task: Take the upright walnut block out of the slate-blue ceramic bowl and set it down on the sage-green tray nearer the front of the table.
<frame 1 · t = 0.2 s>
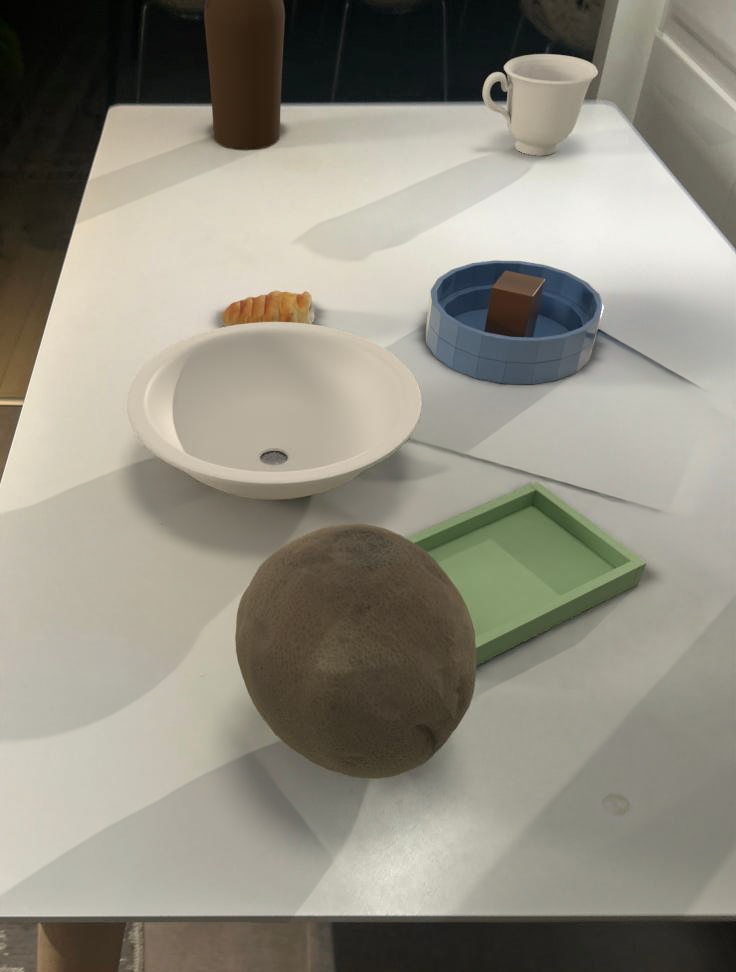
pastry: (275, 332, 98), on the table
vessel sink basin: (273, 462, 83), on the table
tray: (496, 581, 71), on the table
olive oil: (247, 139, 136), on the table
block: (507, 340, 95), resting on blue bowl
teacup: (525, 150, 132), on the table
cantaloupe: (347, 735, 62), on the table
blue bowl: (506, 345, 95), on the table
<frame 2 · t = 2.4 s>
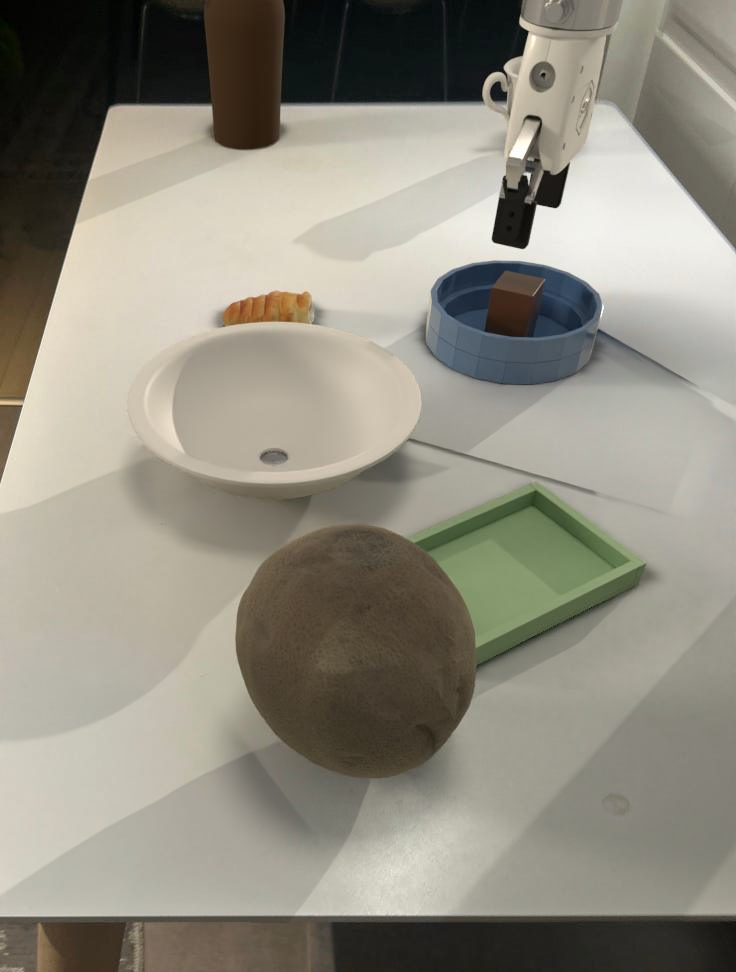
hand: (526, 224, 87), 12 cm above the table, tool pointing down, fingers open, 9 cm apart
nothing on the table moved.
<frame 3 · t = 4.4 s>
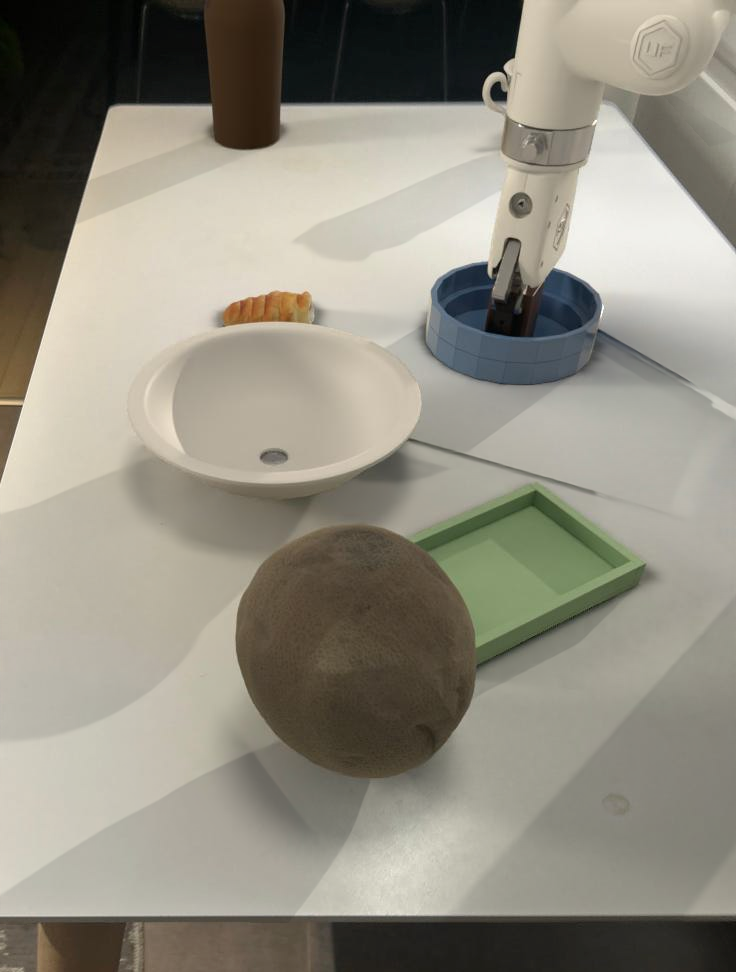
hand: (508, 334, 94), 1 cm above the table, tool pointing down, fingers closed on block, 4 cm apart
block: (507, 340, 95), point 1 cm above the table, touching blue bowl, gripper
everything else where it was.
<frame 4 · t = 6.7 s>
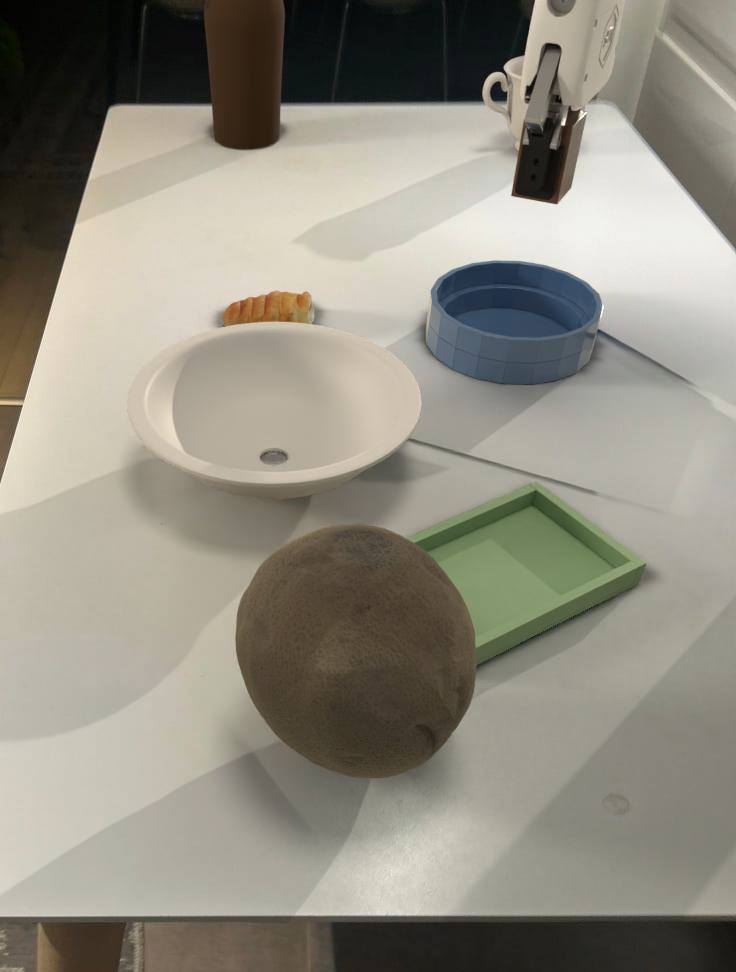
hand: (543, 183, 81), 17 cm above the table, tool pointing down, fingers closed on block, 4 cm apart
block: (541, 192, 81), point 16 cm above the table, touching gripper
everything else where it was.
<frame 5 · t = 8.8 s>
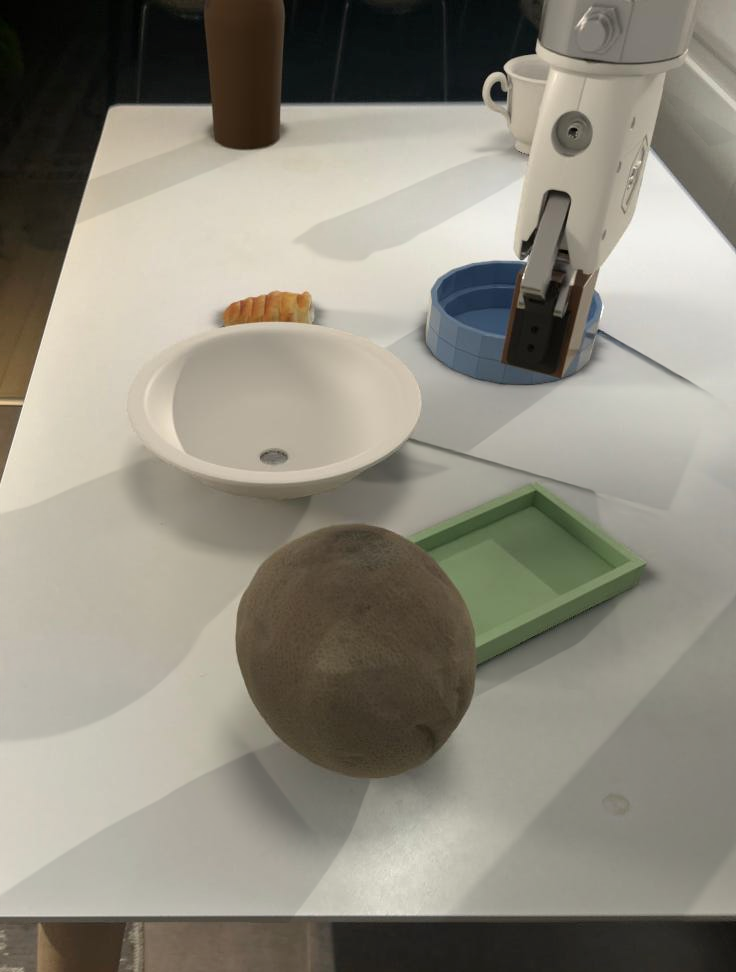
hand: (543, 347, 61), 17 cm above the table, tool pointing down, fingers closed on block, 4 cm apart
block: (539, 356, 62), point 17 cm above the table, touching gripper
everything else where it was.
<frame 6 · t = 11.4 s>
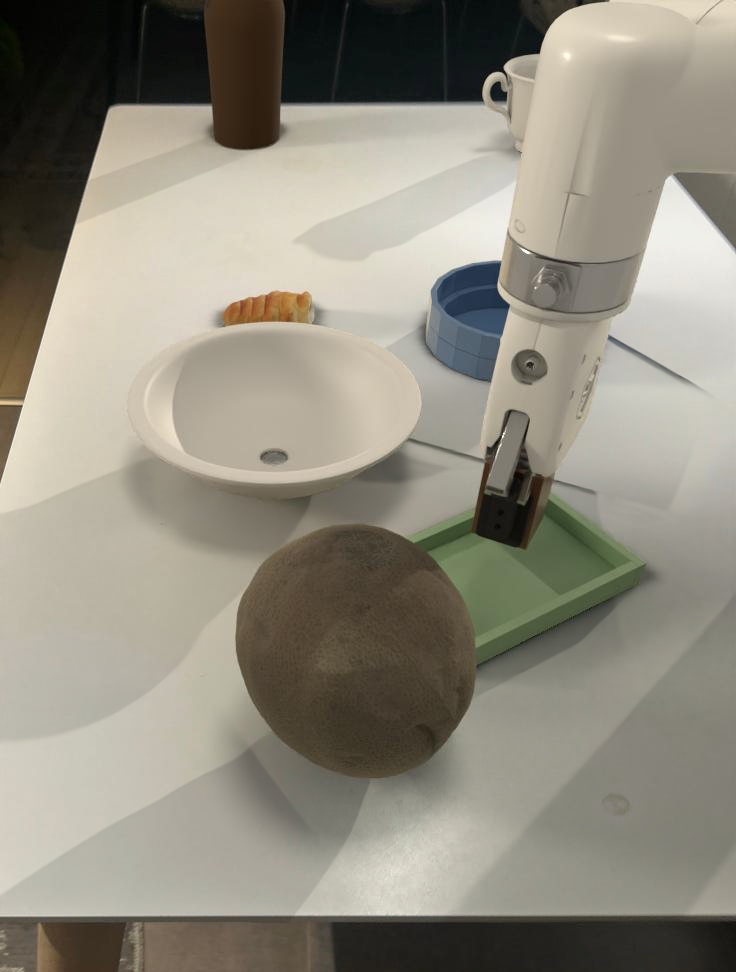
hand: (509, 517, 67), 6 cm above the table, tool pointing down, fingers closed on block, 4 cm apart
block: (507, 525, 67), point 5 cm above the table, touching gripper
everything else where it was.
when the fingers open (1 cm above the table, at t = 13.0 s): block stays where it is, resting on tray.
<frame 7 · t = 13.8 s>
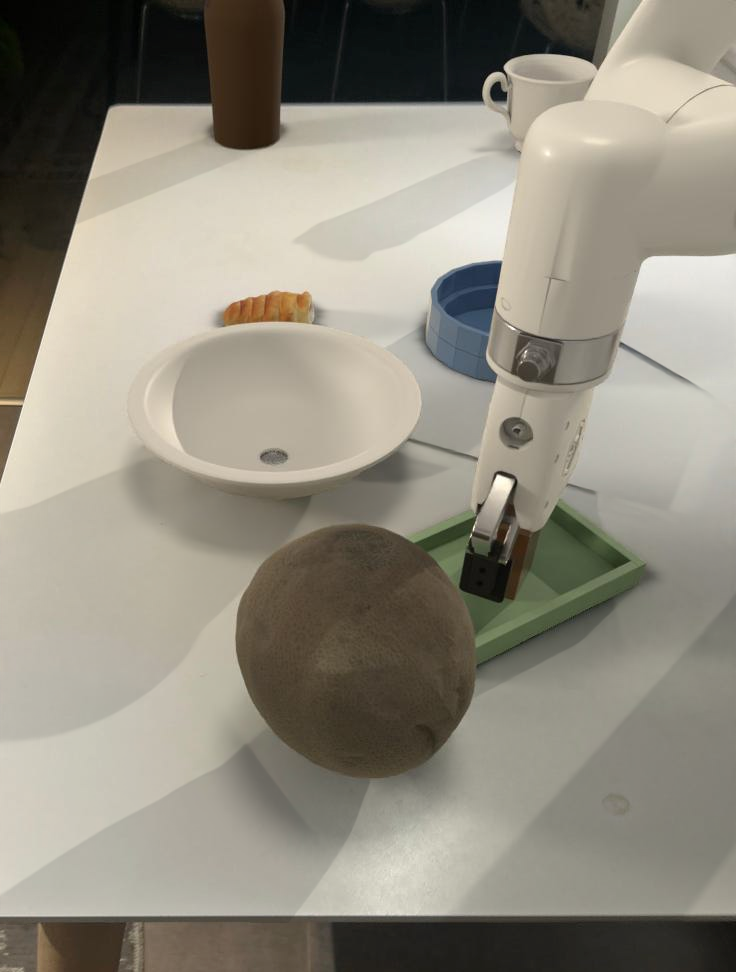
hand: (504, 553, 69), 3 cm above the table, tool pointing down, fingers open, 9 cm apart
block: (496, 575, 71), point 1 cm above the table, touching tray
everything else where it was.
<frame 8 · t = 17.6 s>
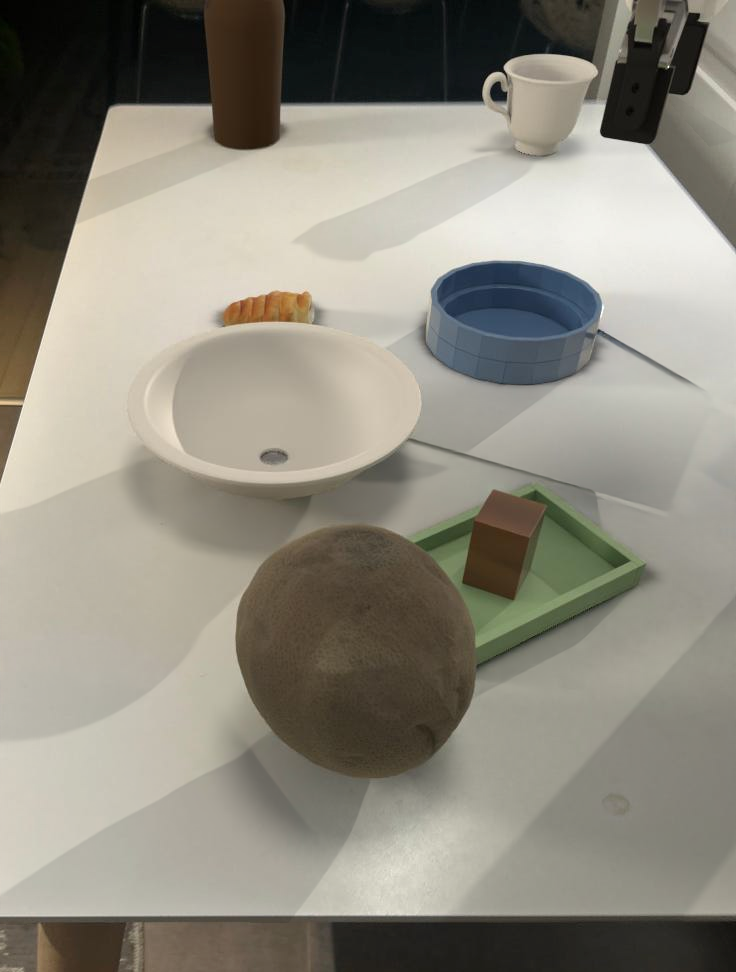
hand: (645, 114, 59), 28 cm above the table, tool pointing down, fingers open, 9 cm apart
nothing on the table moved.
at the end: block inside the target area in the tray (0.1 cm from its centre), point 0.6 cm above the tray's base; block tilted 0°; the gripper is holding nothing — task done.
